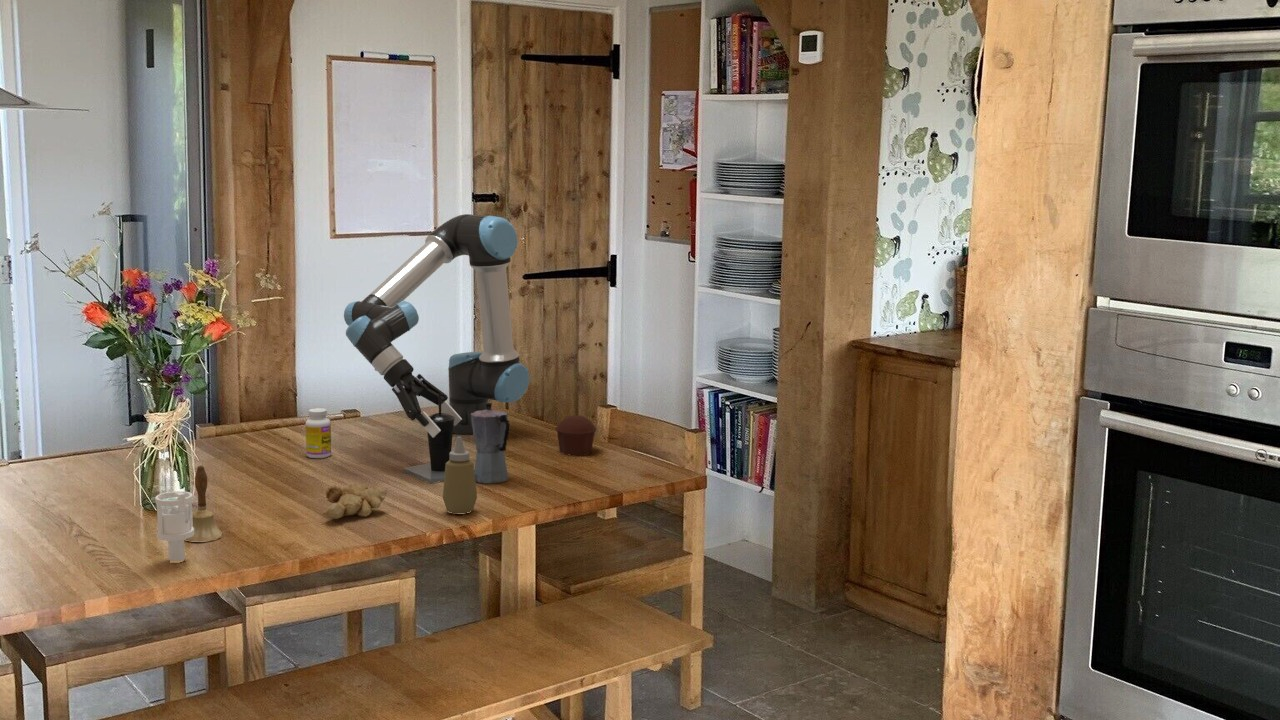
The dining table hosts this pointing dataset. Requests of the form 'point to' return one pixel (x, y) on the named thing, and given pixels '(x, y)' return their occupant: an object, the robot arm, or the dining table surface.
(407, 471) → the slate coaster
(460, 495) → the squeeze bottle
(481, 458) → the moka pot
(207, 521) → the hand bell
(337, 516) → the ginger root
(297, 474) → the dining table surface
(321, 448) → the supplement bottle
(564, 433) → the muffin
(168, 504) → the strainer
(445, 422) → the drinking cup
